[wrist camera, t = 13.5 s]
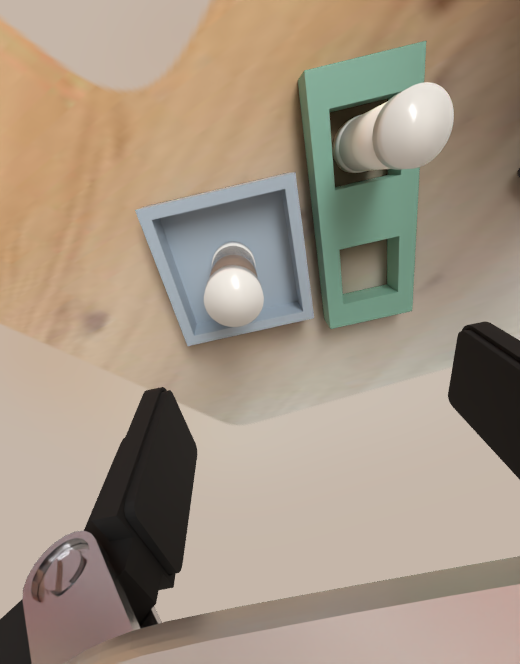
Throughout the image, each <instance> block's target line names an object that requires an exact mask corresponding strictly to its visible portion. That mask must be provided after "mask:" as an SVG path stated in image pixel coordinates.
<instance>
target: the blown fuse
mask: <svg viewBox="0 0 520 664" xmlns="http://www.w3.org/2000/svg"><path fill="white" fill-rule="evenodd" d="M263 303H264V296H263V291H262V287H261V284H260V281H259V279H258V276H257V272H256V265H255V260H254V256H253V254H252V252H251V250H250V249H249V248H248V247H247V246H246V245H244V244H242V243H240V242H235V241H231V242H226V243H224V244H222V245H221V246H219V247H218V248H217V250H216V251H215V253H214V256H213V260H212V269H211V273H210V278H209V280H208V282H207V285H206V289H205V293H204V305H205V308H206V311H207V312H208V314H209V315H210V317H211V318H212V319H213V320H215V321H216V322H218V323H219V324H222V325H224V326H228V327H240V326H244V325H247V324H249V323H250V322H252V321H253V320H255V319H256V318H257V316H258V315H259V314H260V312H261V310H262V307H263Z"/></svg>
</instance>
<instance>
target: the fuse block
mask: <svg viewBox="0 0 520 664" xmlns="http://www.w3.org/2000/svg"><path fill="white" fill-rule="evenodd" d="M425 55H426V41H423V42H419V43H415V44H411V45H407V46H403V47H399V48H395V49H390V50H386V51H382V52H378V53H374V54H370V55H366V56H362V57H358V58H354V59H350V60H346V61H342V62H338V63H334V64H329V65H325V66H321V67H317V68H313V69H309V70H305V71H304V72H303V73H302V75H301V76H300V78H299V79H298V87H299V96H300V105H301V114H302V123H303V132H304V141H305V150H306V159H307V168H308V177H309V186H310V195H311V204H312V213H313V222H314V231H315V240H316V249H317V258H318V267H319V276H320V285H321V294H322V303H323V312H324V319H325V321H326V323H327V324H328V326H329V327H330V329H333V328H337V327H342V326H347V325H351V324H356V323H360V322H365V321H369V320H374V319H378V318H383V317H387V316H392V315H396V314H401V313H405V312H410V311H412V304H413V285H414V266H415V247H416V227H417V208H418V189H419V170H420V167H418V168H414V169H402V170H395V169H388V175H385V176H381V177H377V178H372V179H368V180H364V181H360V182H355V183H351V184H347V185H343V186H338V187H335V183H334V170H333V156H332V143H331V129H330V115H329V113H330V112H334V111H338V110H342V109H346V108H350V107H355V106H359V105H363V104H367V103H371V102H375V101H379V100H384V99H388V101H389V100H390V99H391V98H392V97H394V96H395V95H397V94H398V93H400V92H402V91H404V90H406V89H408V88H409V87H411V86H413V85H416V84H419V83H424V75H425ZM384 239H387V284H386V285H382V286H377V287H373V288H368V289H364V290H359V291H355V292H350V293H346V294H343V292H342V278H341V265H340V251H339V250H340V249H344V248H349V247H353V246H358V245H362V244H366V243H371V242H375V241H380V240H384Z"/></svg>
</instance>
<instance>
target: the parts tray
mask: <svg viewBox="0 0 520 664" xmlns="http://www.w3.org/2000/svg"><path fill="white" fill-rule="evenodd" d="M135 211H136V214H137V216H138V219H139V222H140V224H141V227H142V229H143V232H144V235H145V237H146V240H147V242H148V245H149V247H150V250H151V253H152V255H153V258H154V260H155V263H156V266H157V268H158V271H159V273H160V276H161V278H162V281H163V284H164V286H165V289H166V291H167V294H168V297H169V299H170V302H171V304H172V307H173V309H174V312H175V315H176V317H177V320H178V322H179V325H180V328H181V330H182V333H183V335H184V338H185V340H186V343H187V346H191V345H195V344H200V343H204V342H209V341H213V340H218V339H222V338H227V337H231V336H236V335H240V334H245V333H249V332H254V331H258V330H263V329H267V328H272V327H276V326H281V325H285V324H290V323H294V322H299V321H303V320H308V319H312V318H314V312H313V305H312V297H311V289H310V282H309V274H308V266H307V258H306V251H305V243H304V235H303V228H302V220H301V212H300V205H299V197H298V189H297V182H296V174H295V172H292V173H285V174H280V175H276V176H272V177H268V178H263V179H259V180H255V181H251V182H247V183H242V184H238V185H234V186H230V187H225V188H221V189H217V190H213V191H209V192H204V193H200V194H196V195H192V196H187V197H183V198H179V199H175V200H170V201H166V202H162V203H158V204H154V205H149V206H146V207H143V208H140V209H137V210H135ZM231 241H235V242H240V243H242V244H244V245H246V246H247V247H248V248H249V249H250V250H251V252H252V254H253V256H254V260H255V265H256V272H257V276H258V279H259V281H260V284H261V287H262V291H263V296H264V303H263V307H262V310H261V312H260V314H259V315H258V316H257V318H256V319H255V320H253V321H252V322H250V323H249V324H247V325H244V326H240V327H228V326H224V325H222V324H219V323H218V322H216V321H215V320H213V319H212V318H211V317H210V315H209V314H208V312H207V311H206V308H205V305H204V293H205V289H206V285H207V282H208V280H209V278H210V273H211V269H212V260H213V256H214V253H215V251H216V250H217V248H218V247H219V246H221V245H222V244H224V243H226V242H231Z"/></svg>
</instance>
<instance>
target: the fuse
mask: <svg viewBox="0 0 520 664" xmlns="http://www.w3.org/2000/svg"><path fill="white" fill-rule="evenodd" d="M453 121H454V110H453V104H452V101H451V98H450V96H449V95H448V93H447V92H446V91H445V90H444V89H443V88H442V87H441V86H439V85H437V84H435V83H430V82H424V83H419V84H416V85H413V86H411V87H409V88H408V89H406V90H404V91H402V92H400V93H398V94H397V95H395V96H394V97H392V98H391V99H390V100H389V101H387V102H385V103H383V104H381V105H380V106H378V107H376V108H374V109H372V110H370V111H368V112H366V113H364V114H361V115H358V116H356V117H354V118H352V119H350V120H349V121H347V122H346V123H344V124H343V125H342V126H341V127H340V129H339V130H338V132H337V133H336V136H335V138H334V142H333V157H334V160H335V162H336V164H337V165H338V167H339V168H340V169H342V170H343V171H345V172H348V173H360V172H365V171H369V170H381V169H395V170H402V169H414V168H418V167H421V166H424V165H426V164H427V163H429V162H430V161H432V160H433V159H434V158H435V157H436V156H437V155H438V154H439V153H440V152H441V151H442V149H443V148H444V146H445V145H446V143H447V141H448V139H449V136H450V134H451V131H452V127H453Z"/></svg>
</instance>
